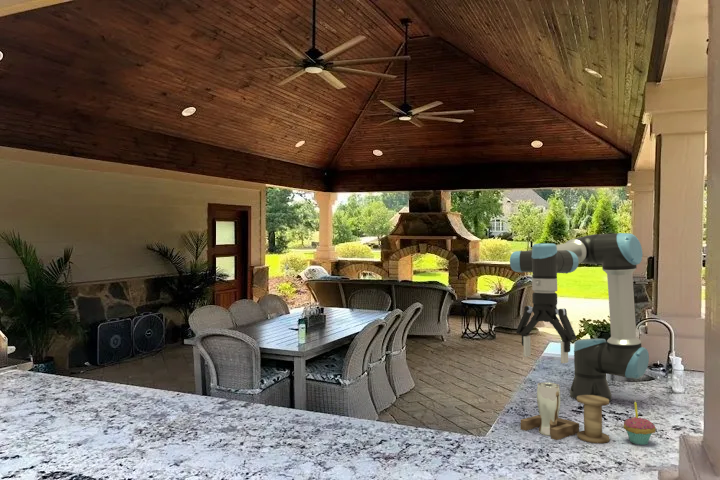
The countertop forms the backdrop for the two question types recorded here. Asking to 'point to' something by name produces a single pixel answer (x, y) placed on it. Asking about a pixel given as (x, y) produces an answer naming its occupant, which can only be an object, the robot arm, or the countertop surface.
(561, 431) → the u-shaped block
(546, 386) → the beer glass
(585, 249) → the robot arm
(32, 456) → the countertop surface
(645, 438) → the cupcake
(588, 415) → the bobbin
